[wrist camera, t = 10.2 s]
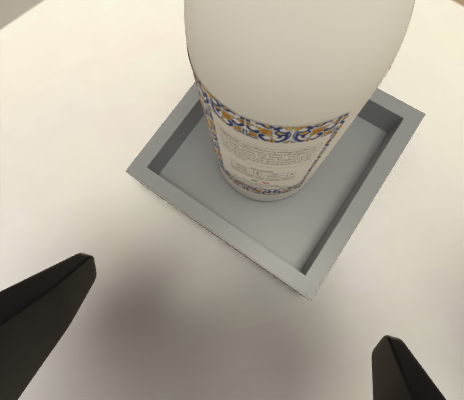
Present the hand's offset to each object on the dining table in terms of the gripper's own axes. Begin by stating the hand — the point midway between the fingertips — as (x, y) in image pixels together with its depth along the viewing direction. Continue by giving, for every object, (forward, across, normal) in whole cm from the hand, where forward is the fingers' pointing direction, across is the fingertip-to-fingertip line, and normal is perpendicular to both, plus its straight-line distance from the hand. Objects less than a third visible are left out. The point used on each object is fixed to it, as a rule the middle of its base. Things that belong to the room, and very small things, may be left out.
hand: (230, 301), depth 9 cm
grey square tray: (+15, 0, +2) cm, 15 cm away
